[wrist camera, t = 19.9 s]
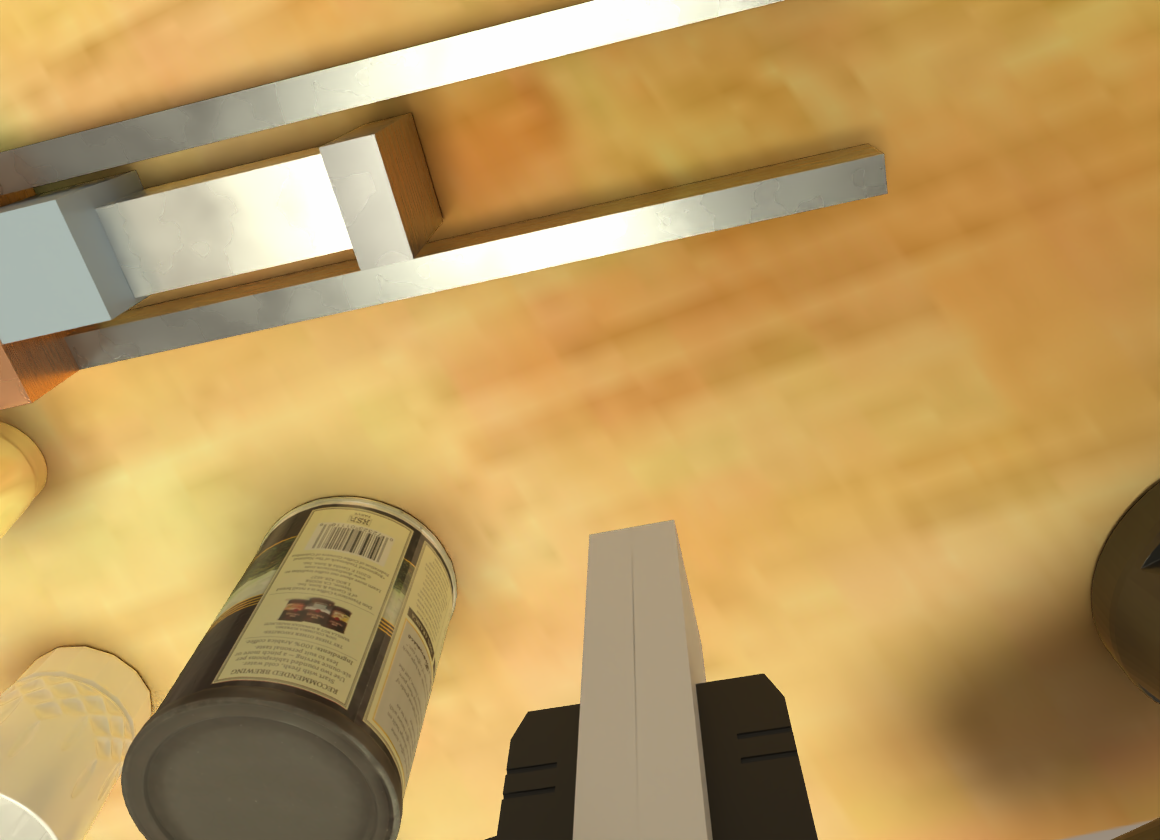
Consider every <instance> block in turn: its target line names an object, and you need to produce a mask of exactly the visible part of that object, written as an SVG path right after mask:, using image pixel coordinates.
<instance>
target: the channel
mask: <svg viewBox="0 0 1160 840" xmlns="http://www.w3.org/2000/svg"><path fill="white" fill-rule="evenodd" d="M779 1H783V0H594V1H590V2H586V3H582V4H578V5H574V6H570V7H567V8H563V9H559V10H555V11H551V12H547V13H543V14H539V15H535V16H531V17H527V18H524V19H520V20H516V21H512V22H508V23H504V24H500V25H496V26H492V27H488V28H485V29H481V30H477V31H473V32H469V33H465V34H461V35H457V36H453V37H449V38H445V39H442V40H438V41H434V42H430V43H426V44H422V45H418V46H414V47H410V48H406V49H403V50H399V51H395V52H391V53H387V54H383V55H379V56H375V57H371V58H367V59H364V60H360V61H356V62H352V63H348V64H344V65H340V66H336V67H332V68H328V69H324V70H321V71H317V72H313V73H309V74H305V75H301V76H297V77H293V78H289V79H285V80H282V81H278V82H274V83H270V84H266V85H262V86H258V87H254V88H250V89H246V90H242V91H239V92H235V93H231V94H227V95H223V96H219V97H215V98H211V99H207V100H203V101H200V102H196V103H192V104H188V105H184V106H180V107H176V108H172V109H168V110H164V111H160V112H157V113H153V114H149V115H145V116H141V117H137V118H133V119H129V120H125V121H121V122H118V123H114V124H110V125H106V126H102V127H98V128H94V129H90V130H86V131H82V132H78V133H75V134H71V135H67V136H63V137H59V138H55V139H51V140H47V141H43V142H39V143H36V144H32V145H28V146H24V147H20V148H16V149H12V150H8V151H4V152H0V207H3V206H6V205H8V204H11V203H14V202H17V201H20V200H23V199H26V198H29V197H32V196H34V195H36V194H35V192H34V190H33V187H37V186H41V185H45V184H49V183H53V182H57V181H61V180H65V179H69V178H73V177H77V176H81V175H85V174H89V173H93V172H97V171H101V170H105V169H109V168H113V167H117V166H121V165H125V164H129V163H133V162H137V161H141V160H145V159H149V158H153V157H157V156H161V155H165V154H169V153H173V152H177V151H181V150H185V149H189V148H193V147H197V146H201V145H205V144H209V143H213V142H217V141H221V140H225V139H229V138H233V137H237V136H241V135H245V134H249V133H253V132H257V131H261V130H265V129H269V128H273V127H277V126H281V125H285V124H289V123H293V122H297V121H301V120H306V119H310V118H314V117H318V116H322V115H326V114H330V113H334V112H338V111H342V110H346V109H350V108H354V107H358V106H362V105H366V104H370V103H374V102H378V101H382V100H386V99H390V98H394V97H398V96H402V95H406V94H410V93H414V92H418V91H422V90H426V89H430V88H434V87H438V86H442V85H446V84H450V83H454V82H458V81H462V80H466V79H470V78H474V77H478V76H482V75H486V74H490V73H494V72H498V71H502V70H506V69H510V68H514V67H518V66H522V65H526V64H530V63H534V62H538V61H542V60H546V59H550V58H554V57H558V56H562V55H566V54H570V53H574V52H578V51H582V50H586V49H590V48H595V47H599V46H603V45H607V44H611V43H615V42H619V41H623V40H627V39H631V38H635V37H639V36H643V35H647V34H651V33H655V32H659V31H663V30H667V29H671V28H675V27H679V26H683V25H687V24H691V23H695V22H699V21H703V20H707V19H711V18H715V17H719V16H723V15H727V14H731V13H735V12H739V11H743V10H747V9H751V8H755V7H759V6H763V5H767V4H771V3H775V2H779ZM887 193H888V192H887V181H886V170H885V159H884V153H882V152H880V151H879V150H877V149H876V148H874V147H872V146H871V145H869V144H863V145H859V146H855V147H850V148H846V149H841V150H837V151H832V152H828V153H824V154H819V155H815V156H810V157H806V158H801V159H797V160H793V161H788V162H784V163H779V164H775V165H770V166H766V167H762V168H757V169H753V170H748V171H744V172H739V173H735V174H731V175H726V176H722V177H717V178H713V179H708V180H704V181H700V182H695V183H691V184H686V185H682V186H677V187H673V188H669V189H664V190H660V191H655V192H651V193H646V194H642V195H638V196H633V197H629V198H624V199H620V200H615V201H611V202H607V203H602V204H598V205H593V206H589V207H584V208H580V209H576V210H571V211H567V212H562V213H558V214H553V215H549V216H545V217H540V218H536V219H531V220H527V221H522V222H518V223H514V224H509V225H505V226H500V227H496V228H491V229H487V230H483V231H478V232H474V233H469V234H465V235H460V236H456V237H452V238H447V239H443V240H438V241H434V242H429V243H426V244H425V245H424V246H423V248H422V249H421V250H420V252H419V253H418V254H417V255H416V257H415V258H414V259H413V260H408V261H404V262H399V263H395V264H390V265H386V266H381V267H377V268H372V269H368V270H364V271H360V268H359V265H358V262H357V259H354V260H350V261H345V262H341V263H336V264H332V265H328V266H323V267H319V268H314V269H310V270H305V271H301V272H297V273H292V274H288V275H283V276H279V277H274V278H270V279H266V280H261V281H257V282H252V283H248V284H243V285H239V286H235V287H230V288H226V289H221V290H217V291H212V292H208V293H204V294H199V295H195V296H190V297H186V298H181V299H177V300H173V301H168V302H164V303H159V304H155V305H150V306H146V307H142V308H137V309H133V310H128V311H125V312H123V313H122V314H120V315H118V316H117V317H115V318H114V319H112V320H109V321H104V322H100V323H96V324H91V325H87V326H82V327H78V328H73V329H69V330H64V331H60V332H56V333H51V334H47V335H42V336H38V337H33V338H29V339H24V340H20V341H15V342H11V343H7V344H2V342H1V340H0V410H1V409H6V408H11V407H15V406H20V405H25V404H29V403H33V402H34V401H35V400H37V399H38V398H40V397H41V396H43V395H44V394H45V393H47V392H48V391H50V390H51V389H53V388H54V387H55V386H57V385H58V384H60V383H61V382H63V381H64V380H66V379H67V378H68V377H70V376H71V375H73V374H74V373H76V372H77V371H78V370H80V369H85V368H89V367H94V366H98V365H103V364H108V363H112V362H117V361H121V360H126V359H131V358H135V357H140V356H144V355H149V354H153V353H158V352H163V351H167V350H172V349H176V348H181V347H186V346H190V345H195V344H199V343H204V342H208V341H213V340H218V339H222V338H227V337H231V336H236V335H241V334H245V333H250V332H254V331H259V330H263V329H268V328H273V327H277V326H282V325H286V324H291V323H296V322H300V321H305V320H309V319H314V318H319V317H323V316H328V315H332V314H337V313H341V312H346V311H351V310H355V309H360V308H364V307H369V306H374V305H378V304H383V303H387V302H392V301H396V300H401V299H406V298H410V297H415V296H419V295H424V294H429V293H433V292H438V291H442V290H447V289H452V288H456V287H461V286H465V285H470V284H474V283H479V282H484V281H488V280H493V279H497V278H502V277H507V276H511V275H516V274H520V273H525V272H529V271H534V270H539V269H543V268H548V267H552V266H557V265H562V264H566V263H571V262H575V261H580V260H584V259H589V258H594V257H598V256H603V255H607V254H612V253H617V252H621V251H626V250H630V249H635V248H640V247H644V246H649V245H653V244H658V243H662V242H667V241H672V240H676V239H681V238H685V237H690V236H695V235H699V234H704V233H708V232H713V231H717V230H722V229H727V228H731V227H736V226H740V225H745V224H750V223H754V222H759V221H763V220H768V219H772V218H777V217H782V216H786V215H791V214H795V213H800V212H805V211H809V210H814V209H818V208H823V207H828V206H832V205H837V204H841V203H846V202H850V201H855V200H860V199H864V198H869V197H873V196H878V195H883V194H887Z"/></svg>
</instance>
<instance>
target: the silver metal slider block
mask: <svg viewBox="0 0 1160 840" xmlns="http://www.w3.org/2000/svg"><path fill="white" fill-rule="evenodd" d="M95 211H96V213H97V215H98V217H99V220H100V222H101V224H102V226H103V228H104V231H105V233H106V235H107V237H108V239H109V242H110V244H111V246H112V248H113V251H114V253H115V255H116V257H117V259H118V262H119V264H120V266H121V268H122V270H123V273H124V275H125V277H126V279H127V281H128V284H129V286H130V288H131V290H132V292H133V295H134V297H135V298H137V297H141V296H146V295H150V294H155V293H159V292H163V291H168V290H172V289H177V288H181V287H185V286H190V285H194V284H199V283H203V282H207V281H212V280H216V279H221V278H225V277H229V276H234V275H238V274H243V273H247V272H251V271H256V270H260V269H265V268H269V267H273V266H278V265H282V264H287V263H291V262H295V261H300V260H304V259H308V258H313V257H317V256H322V255H326V254H330V253H335V252H339V251H344V250H348V249H352V248H353V250H354V253H355V256H356V259H357V262H358V265H359V268H360V271H364V270H368V269H372V268H377V267H381V266H386V265H390V264H395V263H399V262H404V261H408V260H413V259H414V258H415V257H416V255H417V254H418V253H419V252H420V250H421V249H422V248H423V246H424V245H425V244H426V243H427V241H428V240H429V239H430V237H431V236H432V235H433V234H434V232H435V231H436V230H437V228H438V227H439V226H440V224H441V223H442V222H443V219H442V216H441V212H440V209H439V205H438V202H437V199H436V195H435V192H434V189H433V185H432V182H431V178H430V175H429V172H428V168H427V165H426V161H425V158H424V155H423V151H422V148H421V145H420V141H419V138H418V134H417V131H416V128H415V124H414V121H413V117H412V114H411V113H409V114H405V115H400V116H396V117H392V118H388V119H384V120H380V121H376V122H372V123H368V124H364V125H362V126H360V127H358V128H356V129H354V130H352V131H350V132H348V133H346V134H344V135H342V136H340V137H338V138H336V139H335V140H333V141H331V142H329V143H327V144H325V145H323V146H319V147H315V148H310V149H306V150H302V151H298V152H294V153H290V154H286V155H282V156H278V157H274V158H270V159H265V160H261V161H257V162H253V163H249V164H245V165H241V166H237V167H233V168H229V169H225V170H220V171H216V172H212V173H208V174H204V175H200V176H196V177H192V178H188V179H184V180H180V181H175V182H171V183H167V184H163V185H159V186H155V187H151V188H147V189H143V190H139V191H137V192H134V193H132V194H129V195H127V196H125V197H122V198H120V199H117V200H115V201H112V202H110V203H108V204H105V205H103V206H100V207H98V208H95Z"/></svg>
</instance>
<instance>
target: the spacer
mask: <svg viewBox="0 0 1160 840" xmlns="http://www.w3.org/2000/svg"><path fill="white" fill-rule="evenodd" d="M143 189H144V188H143V186H142V183H141V181H140V179H139V176H138V174H137V172H136V170H135V171H131V172H126V173H122V174H118V175H114V176H110V177H106V178H102V179H98V180H94V181H90V182H86V183H82V184H78V185H74V186H70V187H66V188H62V189H58V190H54V191H50V192H46V193H42V194H38V195H34V196H32V197H29V198H26V199H23V200H20V201H17V202H14V203H11V204H8V205H6V206H3V207H0V340H1V342H2V344H7V343H11V342H15V341H20V340H24V339H29V338H33V337H38V336H42V335H47V334H51V333H56V332H60V331H64V330H69V329H73V328H78V327H82V326H87V325H91V324H96V323H100V322H104V321H109V320H112V319H114V318H115V317H117V316H118V315H120V314H122V313H123V312H125V311H126V310H128V309H129V308H131V307H132V306H134V305H136V304H137V303H139V302H140V301H142V300H143V299H145V298H146V297H148V296H149V295H146V296H141V297H137V298H135V297H134V295H133V292H132V290H131V288H130V286H129V284H128V281H127V279H126V277H125V275H124V273H123V270H122V268H121V266H120V264H119V262H118V259H117V257H116V255H115V253H114V251H113V248H112V246H111V244H110V242H109V239H108V237H107V235H106V233H105V231H104V228H103V226H102V224H101V222H100V220H99V217H98V215H97V213H96V211H95V208H98V207H100V206H103V205H105V204H108V203H110V202H112V201H115V200H117V199H120V198H122V197H125V196H127V195H129V194H132V193H134V192H137V191H139V190H143ZM150 295H151V294H150Z"/></svg>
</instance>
